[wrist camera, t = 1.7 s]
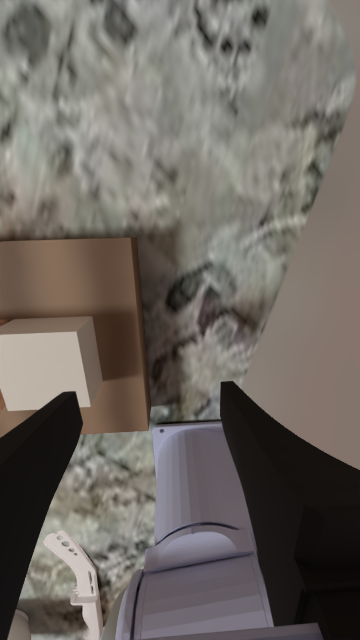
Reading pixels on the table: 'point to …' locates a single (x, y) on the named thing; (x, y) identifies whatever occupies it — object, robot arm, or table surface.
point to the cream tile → (48, 361)
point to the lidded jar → (20, 627)
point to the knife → (80, 582)
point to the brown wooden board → (85, 300)
